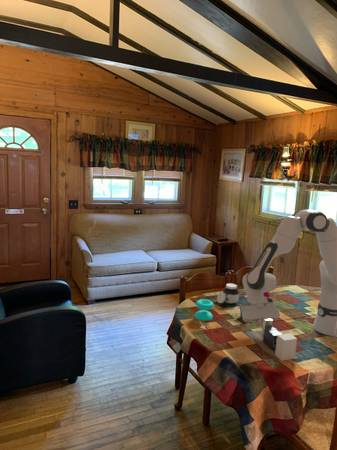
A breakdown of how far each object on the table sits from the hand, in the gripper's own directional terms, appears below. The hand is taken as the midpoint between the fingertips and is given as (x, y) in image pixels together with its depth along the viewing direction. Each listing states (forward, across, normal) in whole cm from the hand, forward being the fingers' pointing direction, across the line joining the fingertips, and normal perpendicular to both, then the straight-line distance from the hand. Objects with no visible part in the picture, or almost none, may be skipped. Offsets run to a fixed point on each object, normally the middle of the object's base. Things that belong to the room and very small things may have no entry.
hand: (265, 328), depth 174 cm
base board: (+9, 0, 0) cm, 9 cm away
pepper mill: (-25, +27, +35) cm, 51 cm away
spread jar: (-28, +3, +38) cm, 47 cm away
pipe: (-12, +5, +21) cm, 25 cm away
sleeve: (+9, 0, -2) cm, 9 cm away
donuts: (-15, -21, +25) cm, 36 cm away
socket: (+16, 0, -9) cm, 18 cm away
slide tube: (+10, 0, -4) cm, 11 cm away
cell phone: (-6, -18, +16) cm, 25 cm away
